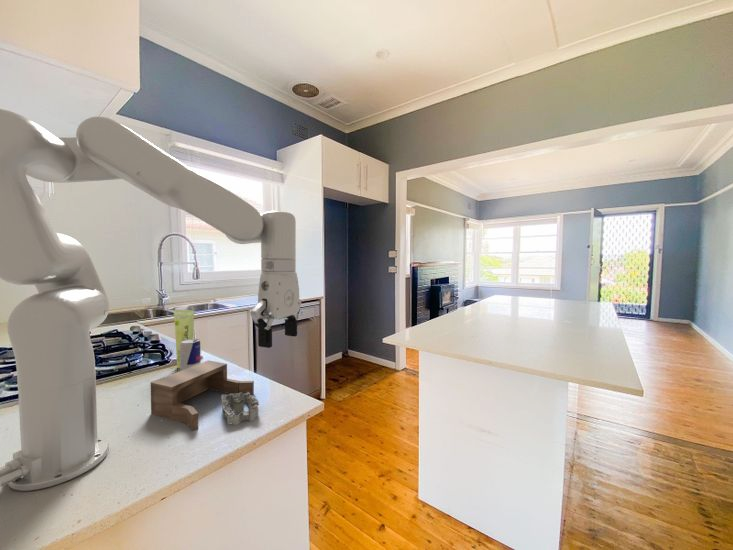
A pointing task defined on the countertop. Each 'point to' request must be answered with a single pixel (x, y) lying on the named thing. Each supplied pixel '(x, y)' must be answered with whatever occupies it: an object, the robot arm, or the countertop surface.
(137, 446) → the countertop surface
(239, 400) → the grey holed block
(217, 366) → the walnut garage
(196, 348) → the energy drink
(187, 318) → the tube
